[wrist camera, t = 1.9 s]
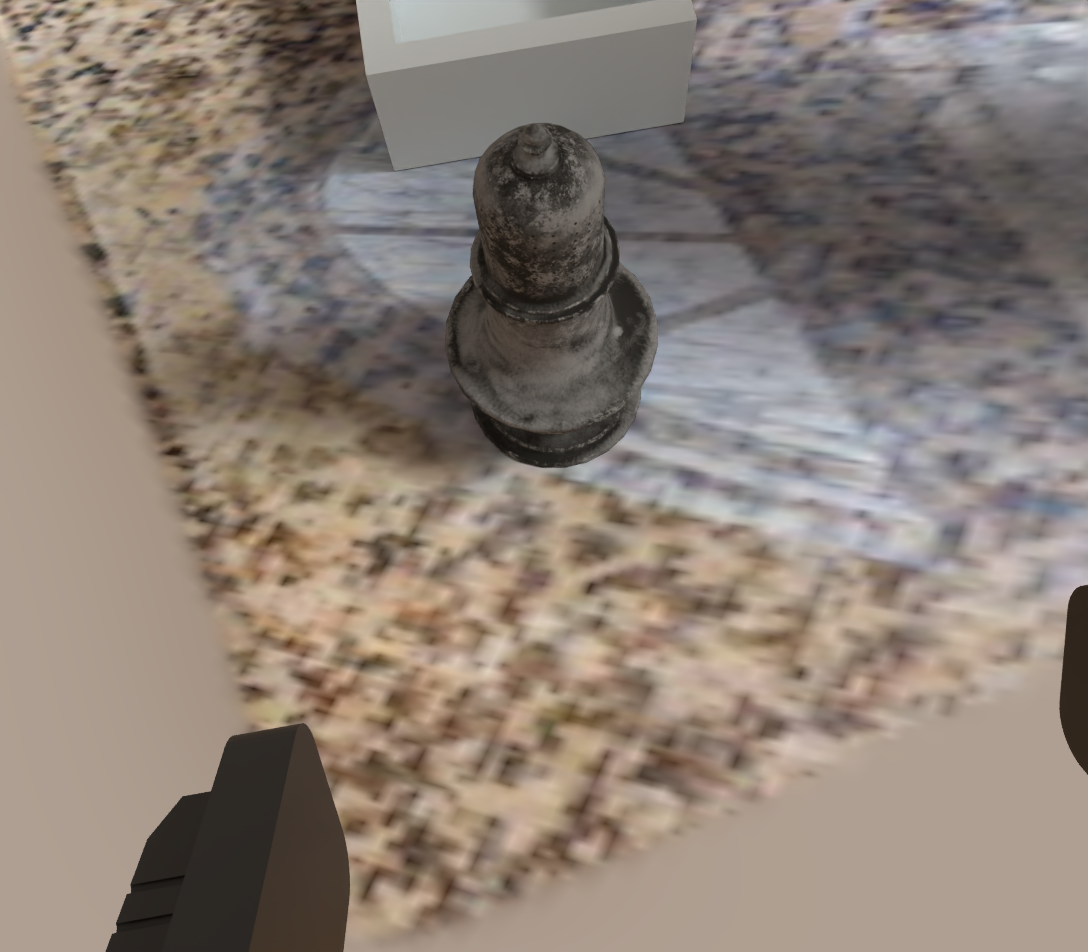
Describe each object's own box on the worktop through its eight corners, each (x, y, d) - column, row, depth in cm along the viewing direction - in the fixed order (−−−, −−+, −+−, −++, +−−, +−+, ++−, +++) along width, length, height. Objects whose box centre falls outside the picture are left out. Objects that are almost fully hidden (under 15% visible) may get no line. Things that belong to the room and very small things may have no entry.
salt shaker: (421, 403, 30) (322, 151, 19) (541, 272, 32) (512, -35, 21) (571, 515, 29) (557, 312, 18) (689, 372, 30) (745, 100, 19)
